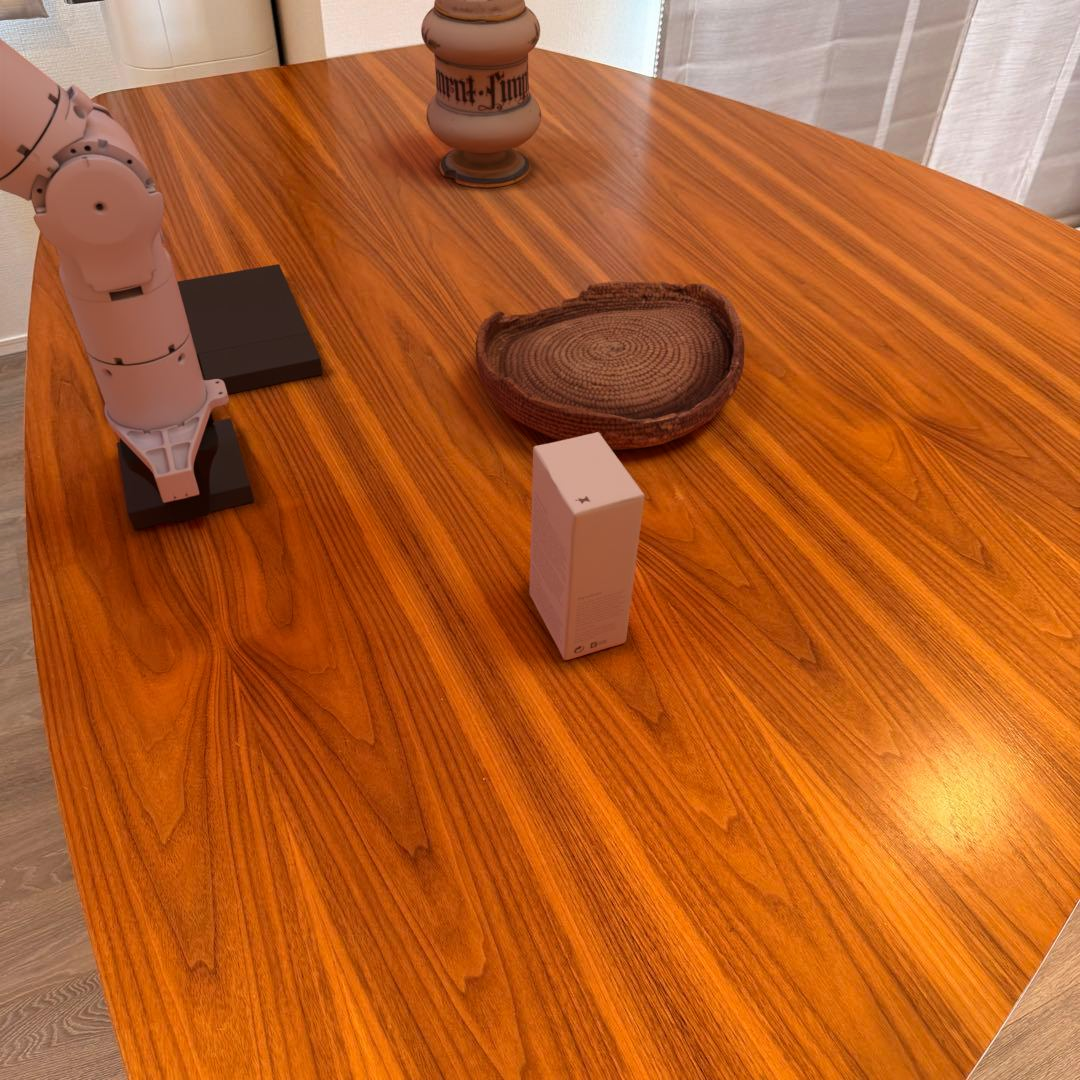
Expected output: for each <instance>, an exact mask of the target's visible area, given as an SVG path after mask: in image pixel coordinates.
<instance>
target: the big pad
mask: <svg viewBox="0 0 1080 1080" xmlns="http://www.w3.org/2000/svg"><path fill="white" fill-rule="evenodd" d="M177 283H178V287H179V290H180V294H181V298H182V302H183V305H184V309H185V313H186V316H187V320H188V324H189V329H190V332H191V336H192V339H193V343H194V347H195V351H196V354H197V358H198V362H199V365H200V369H201V372H202V376H203V379H204V380H213V379H220V380H223V381H224V383H225V387H226V390H227V394H228V395H231V394H237V393H241V392H246V391H251V390H255V389H260V388H264V387H270V386H274V385H280V384H283V383H285V384H286V383H289V382H294V381H299V380H304V379H309V378H314V377H319V376H323V374H324V371H323V365H322V360H321V356H320V354H319V352H318V350H317V347H316V345H315V342H314V340H313V337H312V335H311V334H310V331H309V329H308V326H307V324H306V322H305V319H304V318H303V315H302V313H301V311H300V308H299V305H298V304H297V302H296V299H295V296H294V295H293V292H292V290H291V288H290V285H289V283H288V281H287V278H286V276H285V274H284V272H283V270H282V267H281V265H280V264H279V263H277V264H271V265H266V266H265V265H264V266H259V267H254V268H248V269H242V270H237V271H231V272H224V273H220V274H212V275H207V276H201V277H196V278H190V279H183V280H177Z"/></svg>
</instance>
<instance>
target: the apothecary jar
mask: <svg viewBox="0 0 1080 1080" xmlns="http://www.w3.org/2000/svg"><path fill="white" fill-rule="evenodd" d="M420 33H421V38H422V41H423V43H424V45H425V46H426V47H427V49H428V50H429V51H430V52H432V53H433V55H434V67H435V69H434V70H435V83H436V86H435V87H436V88H435V89H436V91H435V95H433V96H432V97H431V99H430V102H429V103H428V105H427V107H426V122H427V125H428V128H429V130H430V131H431V133H432V134H433V135H434V136H435V137H436V138H437V139H438V140H439V141H440V142H442V143H443V144H444V145H447V146H448V147H450V148H453V150H451V151H449V152H447V153H446V154H445V155H444V156H443V157H442V158H441V160H440V161H439V166H438V167H439V171H440V174H442V176H443V177H445V178H449V179H453V180H454V182H455V183H456V184H457V185H461V186H465V187H469V188H470V187H471V188H480V189H481V188H482V189H488V188H501V187H506V186H511V185H513V184H516V183H518V182H520V181H521V180H523V179H525V178H526V177H527V176H528V175H529V173H530V170H531V164H530V162H529V159H527V157H526V156H524V155H523V154H522V153H521V152H520V151H518V150H515V149H516V148H518V147H520V146H522V145H523V144H525V143H526V142H528V141H529V140H530V139H532V137H533V136H534V135H535V134H536V132H537V130H538V129H539V127H540V124H541V122H542V111H541V110H542V109H541V107H540V106H541V105H540V104H539V102H538V100H537V99H536V97H535V96H534V95H533V93H531V92H530V84H529V83H530V82H529V81H530V79H529V53H530V52H531V51H533V49H534V48H535V47H536V46H537V44H538V42H539V40H540V37H541V26H540V21H539V19H538V17H537V16H536V15H535V13H534V12H533V11H532V10H531V9H530V8H529V7H528V6H527V5H526V1H525V0H434V3H433V7H431V8H430V10H429V11H428V12H427V13H426V14H425V16H424V18H423V20H422V22H421V27H420Z"/></svg>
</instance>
